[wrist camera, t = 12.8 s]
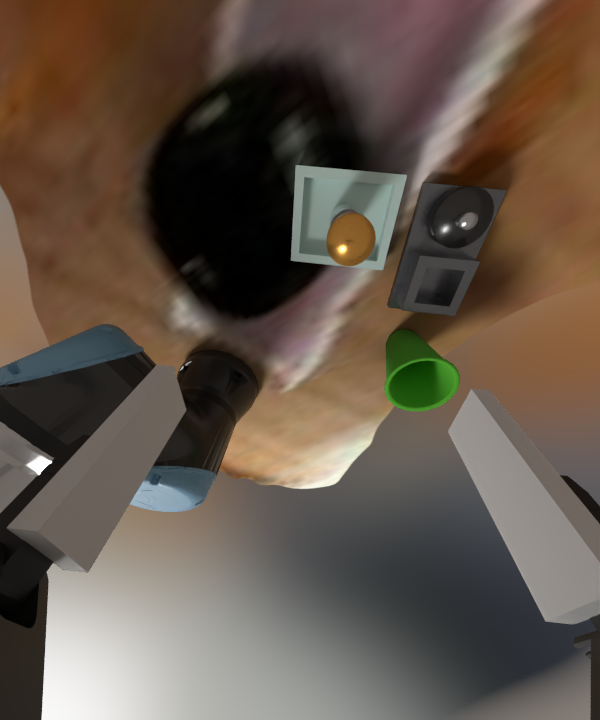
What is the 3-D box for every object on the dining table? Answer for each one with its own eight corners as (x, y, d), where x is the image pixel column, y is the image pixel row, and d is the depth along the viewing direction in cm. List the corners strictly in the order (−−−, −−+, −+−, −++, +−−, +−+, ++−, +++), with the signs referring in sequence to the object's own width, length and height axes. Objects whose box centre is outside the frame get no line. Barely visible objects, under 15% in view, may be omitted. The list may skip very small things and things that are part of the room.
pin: (326, 234, 33) (323, 263, 21) (330, 200, 31) (329, 211, 19) (355, 237, 33) (369, 268, 21) (362, 202, 30) (381, 216, 19)
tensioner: (387, 304, 38) (393, 319, 34) (422, 182, 29) (437, 182, 25) (448, 311, 38) (462, 327, 34) (502, 190, 29) (530, 191, 25)
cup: (421, 307, 38) (449, 346, 29) (438, 352, 42) (468, 398, 33) (364, 332, 41) (373, 374, 32) (385, 372, 45) (399, 419, 36)
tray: (293, 256, 35) (290, 260, 33) (298, 166, 30) (295, 164, 28) (379, 265, 35) (382, 270, 33) (402, 175, 29) (407, 175, 27)
